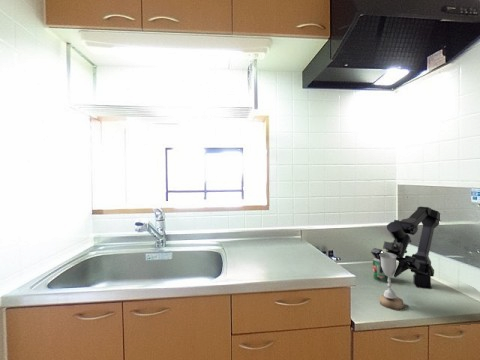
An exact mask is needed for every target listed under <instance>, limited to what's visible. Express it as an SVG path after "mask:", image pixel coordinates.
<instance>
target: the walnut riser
mask: <svg viewBox="0 0 480 360" xmlns="http://www.w3.org/2000/svg"><path fill="white" fill-rule="evenodd" d="M379 305H380V306H382V307H384V308H386V309H390V310H395V311H398V310H402V309H404V300H403V299H402V298H401V297H399V296H397V297H396V298H387V297H385V296H384V294H381V295H380V296H379Z"/></svg>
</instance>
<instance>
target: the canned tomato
mask: <svg viewBox="0 0 480 360" xmlns="http://www.w3.org/2000/svg"><path fill="white" fill-rule="evenodd" d="M372 279H373V280H374V281H376V282H378V283H383V284H384V283H385V284H386V283H388V281H387V280H388V276H386V275H385V273H384V272H382V273H380V260H379V259H376V258H375V257H374V256H373V258H372Z"/></svg>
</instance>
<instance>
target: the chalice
mask: <svg viewBox="0 0 480 360" xmlns="http://www.w3.org/2000/svg"><path fill="white" fill-rule="evenodd" d="M379 256H380V257H381V267H382V269H383V272H384V273H385V275H386V276H388V280H387V281H388V282H387V284H386V285H387V286H388V288H386V289H385V290H384V293H383V295H384V296H385V297H387V298H396V297H398V296H397V295H396V293H395V291H394V289H392V288H391V287H392V279H391V277H394V273H395V271H396V269H397V261H396V257H397V255H396V254H393V253H388V252H384V253H381V254H379Z"/></svg>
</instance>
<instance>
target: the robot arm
mask: <svg viewBox="0 0 480 360" xmlns="http://www.w3.org/2000/svg"><path fill="white" fill-rule="evenodd" d="M440 214H441V213H440V212H439V211H438V210H435V209H432V207H429V206H418V207H417V209H416V210H415V211H414V212H413V213H412V214H410V216H409V217H408V218H403V219H401V220H400V219H394V221H391V222H389V223H388V224H387V225H386V229H387V231H388V233H389V234H390V236H391V237H392V238H393V241H383V246H382V249H380V248H376V247H374V248H372V250H371V252H370V253H371V254H372V255H373V258H374V257H375V258H376V259H379V260H380V273H382V272H383V269H382V267H381V257H380V256H379V254H381V253H393V254H396V255H397V257H396V262H397V261H398V264H397V266H396V269H395V272H394V274H393V278H397V277H399V275H401V274H402V273H403V272H405V271H408V270H410V272H411V273H414V274H412V279H413V280H412V282H413V284H414V285H415V287H416V288H422V289H429V290H431V289H433V287H432V284H431V283H432V279H431V278H432V277H434V276H435V269H434V267H433V266H432V261H431V259H430V257H429V255H430V252H431V251H430V250H431V245H432V241H433V236H434V235H433V234H434V230H435V229H436V228H438V226H439V225H440V223H439V221H440V222H441V220H440ZM420 224H422V229H421V233H420V239H419V243H418V247H417V252H415V253H412V255H408V254H407V253H408V251H407V249H408V246H409V243H410V244H411V243H412V239H411V237H410V235H412V236H414V235H416V234H417V233H418V231H419V228H418V226H419V225H420ZM383 249H385V252H384V251H383ZM405 254H407V255H405Z"/></svg>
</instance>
